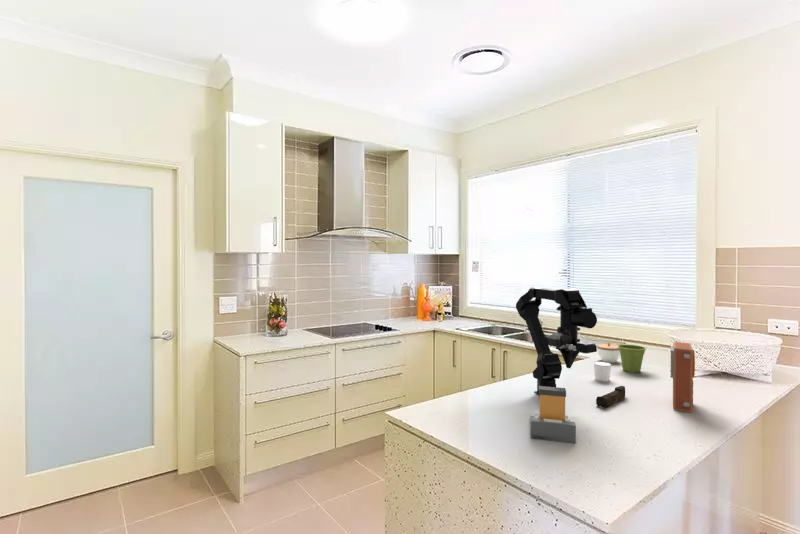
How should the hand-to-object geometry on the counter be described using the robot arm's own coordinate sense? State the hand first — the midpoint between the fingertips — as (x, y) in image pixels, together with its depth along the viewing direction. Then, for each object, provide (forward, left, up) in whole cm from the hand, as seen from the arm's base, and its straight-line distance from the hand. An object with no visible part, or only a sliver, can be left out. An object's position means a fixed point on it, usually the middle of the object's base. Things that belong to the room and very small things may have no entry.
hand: (568, 368), depth 152 cm
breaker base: (+13, -23, -13) cm, 30 cm away
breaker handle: (+15, -25, -12) cm, 32 cm away
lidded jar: (-35, +72, -13) cm, 81 cm away
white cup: (-15, +39, -13) cm, 44 cm away
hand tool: (+5, +17, -14) cm, 22 cm away
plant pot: (-18, +64, -13) cm, 68 cm away
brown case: (+20, +34, -13) cm, 42 cm away
